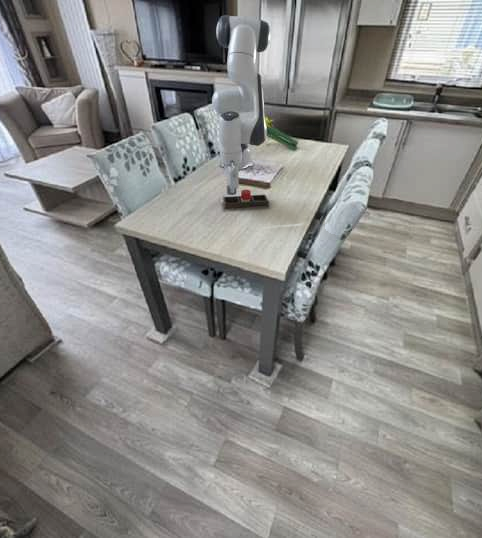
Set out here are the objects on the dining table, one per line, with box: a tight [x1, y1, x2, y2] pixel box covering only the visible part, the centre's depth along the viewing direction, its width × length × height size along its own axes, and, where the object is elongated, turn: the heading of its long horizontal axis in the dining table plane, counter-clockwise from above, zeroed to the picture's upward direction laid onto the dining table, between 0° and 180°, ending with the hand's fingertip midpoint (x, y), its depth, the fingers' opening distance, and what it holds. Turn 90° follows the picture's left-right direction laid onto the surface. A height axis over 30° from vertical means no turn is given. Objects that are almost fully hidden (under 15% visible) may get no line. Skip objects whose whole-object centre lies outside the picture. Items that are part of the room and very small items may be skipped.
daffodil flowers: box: [264, 116, 300, 151], centre depth 202 cm, size 17×15×35 cm
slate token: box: [226, 184, 237, 196], centre depth 130 cm, size 4×4×3 cm
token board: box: [222, 194, 269, 210], centre depth 135 cm, size 7×20×3 cm, turn 99°
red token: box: [240, 189, 252, 200], centre depth 132 cm, size 4×4×3 cm
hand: (231, 189), depth 130 cm, fingers closed on slate token, 4 cm apart
